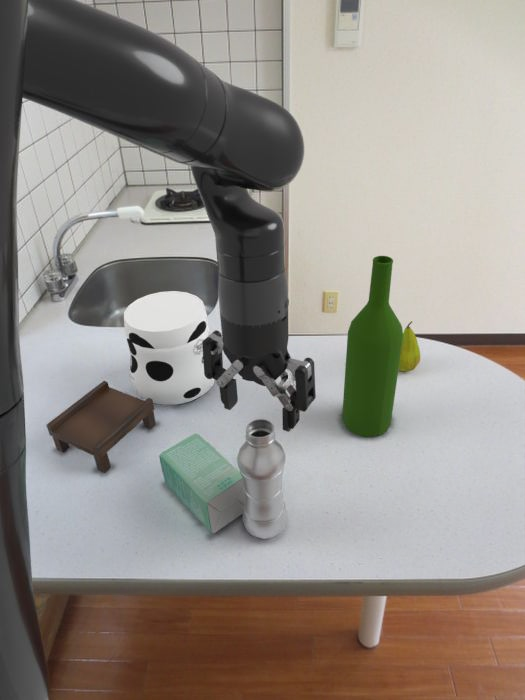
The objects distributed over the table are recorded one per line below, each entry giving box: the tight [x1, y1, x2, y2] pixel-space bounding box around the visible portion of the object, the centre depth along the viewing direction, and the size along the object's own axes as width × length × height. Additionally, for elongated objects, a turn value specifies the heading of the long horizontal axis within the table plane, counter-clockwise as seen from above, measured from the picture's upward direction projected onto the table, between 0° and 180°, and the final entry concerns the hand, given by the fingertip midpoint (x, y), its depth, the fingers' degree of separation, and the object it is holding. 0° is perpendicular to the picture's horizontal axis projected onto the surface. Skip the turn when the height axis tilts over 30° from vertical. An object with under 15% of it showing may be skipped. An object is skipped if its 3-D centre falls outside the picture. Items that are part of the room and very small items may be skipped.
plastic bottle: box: [236, 418, 288, 540], centre depth 73 cm, size 6×7×20 cm
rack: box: [45, 380, 157, 474], centre depth 94 cm, size 14×12×6 cm
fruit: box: [398, 320, 421, 372], centre depth 107 cm, size 6×6×12 cm
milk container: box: [123, 290, 216, 407], centre depth 103 cm, size 17×17×18 cm
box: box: [158, 433, 245, 534], centre depth 82 cm, size 7×14×8 cm, turn 41°
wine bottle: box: [341, 255, 404, 438], centre depth 88 cm, size 9×9×32 cm
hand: (259, 416), depth 66 cm, fingers open, 8 cm apart
